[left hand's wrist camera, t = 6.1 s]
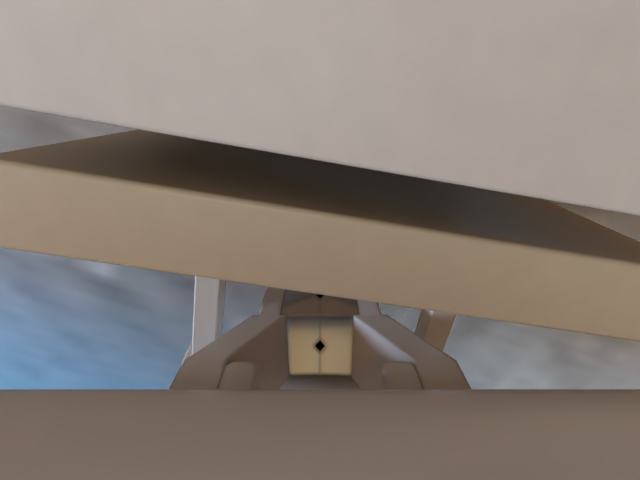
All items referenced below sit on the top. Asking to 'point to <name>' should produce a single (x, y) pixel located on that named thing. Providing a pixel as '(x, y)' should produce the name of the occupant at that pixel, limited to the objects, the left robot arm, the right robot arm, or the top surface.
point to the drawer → (318, 235)
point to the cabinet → (356, 83)
